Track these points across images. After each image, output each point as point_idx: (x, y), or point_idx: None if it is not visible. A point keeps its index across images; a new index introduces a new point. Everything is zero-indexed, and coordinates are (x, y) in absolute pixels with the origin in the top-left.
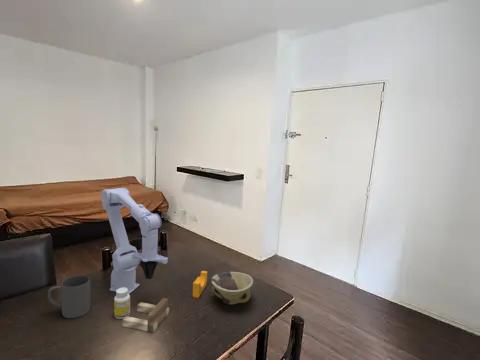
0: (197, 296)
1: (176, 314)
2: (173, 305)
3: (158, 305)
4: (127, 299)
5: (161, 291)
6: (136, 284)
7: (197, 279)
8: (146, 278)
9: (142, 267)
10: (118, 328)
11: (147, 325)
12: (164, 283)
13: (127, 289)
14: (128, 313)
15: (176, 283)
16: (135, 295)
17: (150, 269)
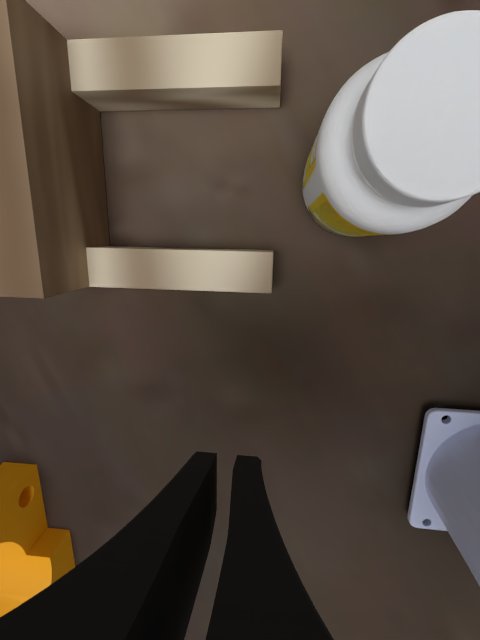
0: (1, 468)
1: None
2: (92, 365)
3: (11, 172)
4: (322, 124)
5: None
6: (430, 517)
7: None
8: (245, 457)
9: (306, 636)
10: (296, 27)
11: (71, 43)
12: None
13: (379, 157)
14: (303, 174)
15: None
16: (378, 411)
17: (82, 584)
